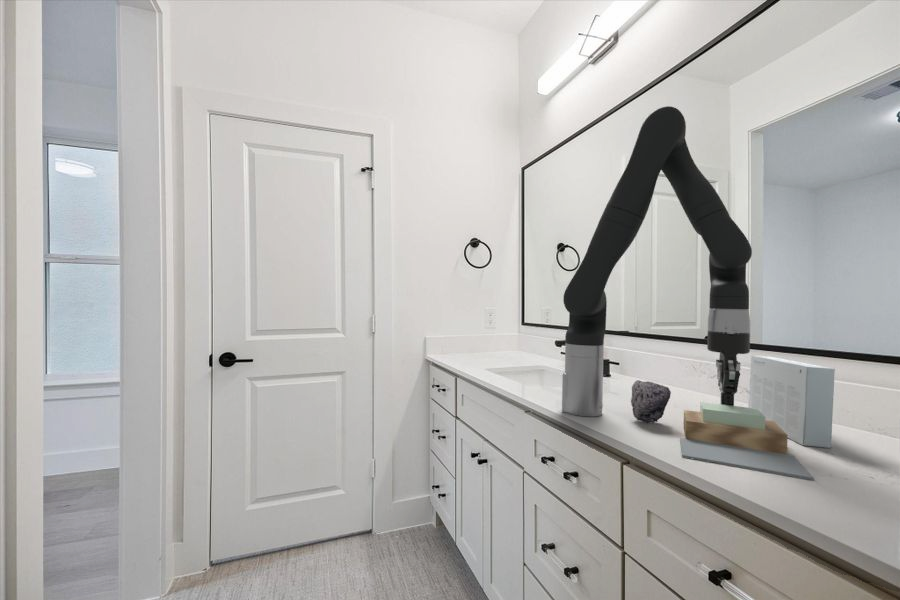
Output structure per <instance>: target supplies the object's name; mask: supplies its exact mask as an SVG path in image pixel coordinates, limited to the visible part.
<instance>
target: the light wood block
mask: <svg viewBox="0 0 900 600" xmlns="http://www.w3.org/2000/svg"><path fill="white" fill-rule="evenodd" d="M683 432H684V438H685V439H691V440H698V441H704V442H711V443H717V444H723V445H730V446H736V447H742V448H749V449H755V450H762V451H768V452H774V453H781V454H787V455H788V438H787V434H786V433H785V432H784V431H783V430H782V429H781V428H780V427H779V426H778V425H777V424H776V423H775V422H774V421H767V420H765V430H763V429H755V428H748V427H741V426H733V425H726V424H719V423H711V422H704V421H703V420H702V417H701V414H700V411H695V410H694V411H693V410H688V409H687V410H686V409H683Z"/></svg>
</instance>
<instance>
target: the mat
mask: <svg viewBox="0 0 900 600" xmlns="http://www.w3.org/2000/svg"><path fill="white" fill-rule="evenodd" d="M679 442H680V450H681V451H680V452H681V458H684V457H687V458H686V459H690V458H693V459H692V460H695V459H698V460H697V461H701V460H703V461H702V462H707V461H709V462H708V463H712V462H715V463H714V464H718V463H720V464H719V465H724V466H731V467H735V468H741V469H746V470H747V469H748V470H752V471H758V472H765V473H769V474H774V475H775V474H776V475H780V476H781V475H782V476H787V477H793V478H797V479H798V478H799V479H803V480H804V479H805V480H808V481H809V480H810V481H815V477H814V476H813V475H812V473H811V472H810V471H809V470H808V469H807V468H806V467H805V466H804V465H803V463H802V462H801V461H800V460H799V459H798V458H797V457H796V456H795V455H793V454H788V453H787V454H781V453H774V452H768V451H762V450H755V449H749V448H742V447H736V446H730V445H723V444H717V443H711V442H704V441H698V440H691V439H685V437H679Z"/></svg>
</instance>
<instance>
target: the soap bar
mask: <svg viewBox="0 0 900 600" xmlns="http://www.w3.org/2000/svg"><path fill="white" fill-rule="evenodd" d="M699 408H700V411H699V412H700V414H701V417H702V420H703V421H704V422H711V423H719V424H726V425H733V426H741V427H748V428H755V429H763V430H765V416H764V415H763V414H762V413H761V412H760V411H759V410H758V409H756V408H748V407H745V406H740V405H739V406H736V405H734V406H730V405H722V404H721V403H720V404H719V403H714V402H712V403H711V402H705V401H704V402H703V401H700V407H699Z"/></svg>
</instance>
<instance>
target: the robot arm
mask: <svg viewBox="0 0 900 600" xmlns="http://www.w3.org/2000/svg"><path fill="white" fill-rule="evenodd" d="M686 128H687V122H686V120H685V116H684V115H683V113H682V112H681V110H679V109H678V108H677V107H674V106H671V105H667V106H662V107H659V108H656V109H655V110H653V111H652V112H651V113H649V114H648V116H647V117H646V118H645V119H644V121H643V122H642V124H641V126H640V128H639V132H638V134H637V138H636V140H635V144H634V146H633V149H632V151H631V155H630V158H629V160H628V163H627V164H626V167H625V169H624V171H623V173H622V174H621V176H620V179H619V180H618V182H617V183H616V185H615V188H614V190H613V192H612V194H611V195H610V197H609V199H608V202H607V204H606V205H605V208H604V210H603V211H602V214H601V216H600V219H599V221H598V224H597V226H596V228H595V231H594V233H593V235H592V238H591V239H590V242H589V245H588V248H587V249H586V253H585V255H584V257H583V259H582V261H581V263H580V265H579V267H578V268H577V270H576V271H575V273H574V275H573V276H572V278H571V280H570V282H569V283H568V285H567V287H566V288H565V290H564V292H563V299H562V301H563V305H564V307H565V310H566V311H567V312H568V313H569V314H568V315H569V316H568V317H569V318H568V326H567V329H566V332H565V337H564V338H565V344H564V345H565V349H564V351H565V353H564V372H563V373H562V384H561V385H562V388H561V390H562V391H561V393H562V394H561V412H564V413H567V414H570V415H575V416H581V417H598V416H601V415H603V401H604V400H603V397H604V395H603V394H604V392H603V390H604V348H605V347H604V346H605V345H604V344H605V343H604V342H605V341H604V340H605V335H606V328H607V327H606V326H607V325H606V324H607V306H608V305H607V303H608V302H607V301H608V300H607V294H606V292H605V289H606V286H607V283H608V280H609V278H610V275H611V274H612V272H613V270H614V268H615V266H617V263H618V262H619V261H620V259H621V258H622V257H623V256H624V254H625V253H626V251H628V249H629V248H630V246H631V245H632V243H633V241H634V240H635V238H636V236H637V235H638V233H639V231H640V228H641V226H642V224H643V222H644V220H645V218H646V216H647V212H648V211H649V207H650V206H651V202H652V198H653V196H654V192H655V189H656V184H657V181H658V179H659V175H660V173H661V172H662V173H663V174H664V176H665V177H666V179H667V181H668V182H669V183H670V186H671V187H672V189H673V191H674V193H675V196H676V197H677V199H678V202H679V203H680V206H681V207H682V209H683V211H684V214H685V215H686V217H687V218H688V221H689V222H690V224H691V226H692V228H693V230H694V231H695V232H696V233H697V235H700V237H701V238H702V240H703V243H704V244H705V245H706V248H707V250H708V251H709V256H708V267H709V270H708V271H709V279H710V280H709V281H710V289H709V309H708V317H707V351H710V352H713V353H719V359H715V367H716V368H717V370H716V374H717V375H716V379H717V382H718V383H717V386H718V390H719V392H720V404H722V405H730V406H735V394H738V393H737V392H738V387H739V381H740V376H741V372H740V371H741V362H739V361H738V360H737V359H738V357H737V356H738V355H745V354H749V353H750V351H751V318H750V317H751V316H750V310H749V309H750V290H749V289H750V288H749V286H748V285H747V282H746V280H747V275H746V274H747V264H748V263H749V262H750V260H751V258H752V255H753V250H752V249H753V248H752V246H751V243H750V241H749V240H748V238H747V236H746V235H745V234H744V233H743V231H742V230H741V229H740V227H739V225H738V224H737V223H736V222H735V221H734V220H733V218H732V217H731V215H730V214H729V212H728V209H727V207H726V206H725V204H724V202H723V200H722V198H721V197H720V196H719V193H718V192H717V191H716V189H715V188H714V187H713V185H712V184H711V182H709V180H708V179H707V177H705V175H704V174H703V173H702V172H701V170H700V169H699V168H698V166H697V164H696V163H695V161H694V159H693V157H692V154H691V153H690V152H691V151H690V150H689V146H688V144H687V141H686V130H687V129H686Z"/></svg>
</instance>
